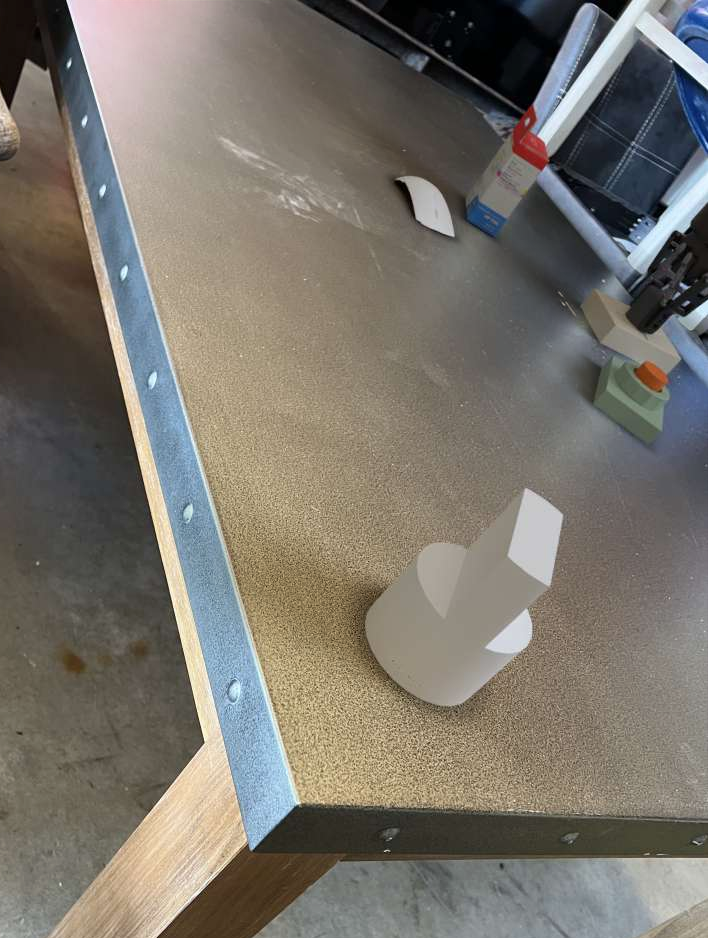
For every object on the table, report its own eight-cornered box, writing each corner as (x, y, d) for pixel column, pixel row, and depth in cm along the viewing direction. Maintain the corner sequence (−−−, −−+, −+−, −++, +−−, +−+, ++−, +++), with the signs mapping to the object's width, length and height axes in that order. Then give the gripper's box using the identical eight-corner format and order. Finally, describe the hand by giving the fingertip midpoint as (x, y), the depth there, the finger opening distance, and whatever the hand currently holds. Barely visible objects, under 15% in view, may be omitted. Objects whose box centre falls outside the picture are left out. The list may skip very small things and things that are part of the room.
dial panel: (643, 339, 136) (659, 321, 134) (665, 376, 130) (682, 358, 128) (579, 305, 132) (595, 287, 130) (599, 343, 126) (616, 323, 124)
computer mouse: (417, 223, 120) (428, 207, 119) (388, 173, 127) (398, 158, 126) (458, 241, 124) (469, 225, 122) (427, 191, 131) (437, 176, 129)
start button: (634, 368, 114) (644, 356, 113) (658, 386, 115) (669, 375, 113) (632, 378, 112) (643, 367, 110) (657, 397, 112) (668, 386, 111)
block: (601, 368, 120) (624, 343, 117) (652, 406, 120) (676, 382, 118) (592, 404, 111) (617, 377, 108) (648, 445, 111) (674, 420, 108)
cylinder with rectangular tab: (463, 730, 62) (592, 619, 54) (349, 651, 62) (463, 527, 54) (484, 649, 69) (601, 540, 61) (382, 577, 69) (487, 458, 61)
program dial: (621, 307, 130) (647, 278, 127) (645, 321, 131) (671, 292, 128) (631, 325, 127) (657, 295, 124) (655, 338, 128) (682, 309, 125)
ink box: (494, 239, 132) (566, 141, 123) (464, 220, 131) (535, 119, 122) (492, 216, 138) (560, 121, 129) (463, 198, 137) (531, 101, 128)
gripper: (784, 252, 114) (675, 361, 125) (743, 199, 124) (645, 305, 135) (739, 222, 112) (632, 337, 123) (701, 171, 122) (605, 281, 133)
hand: (640, 319), depth 129 cm, fingers closed on program dial, 4 cm apart
